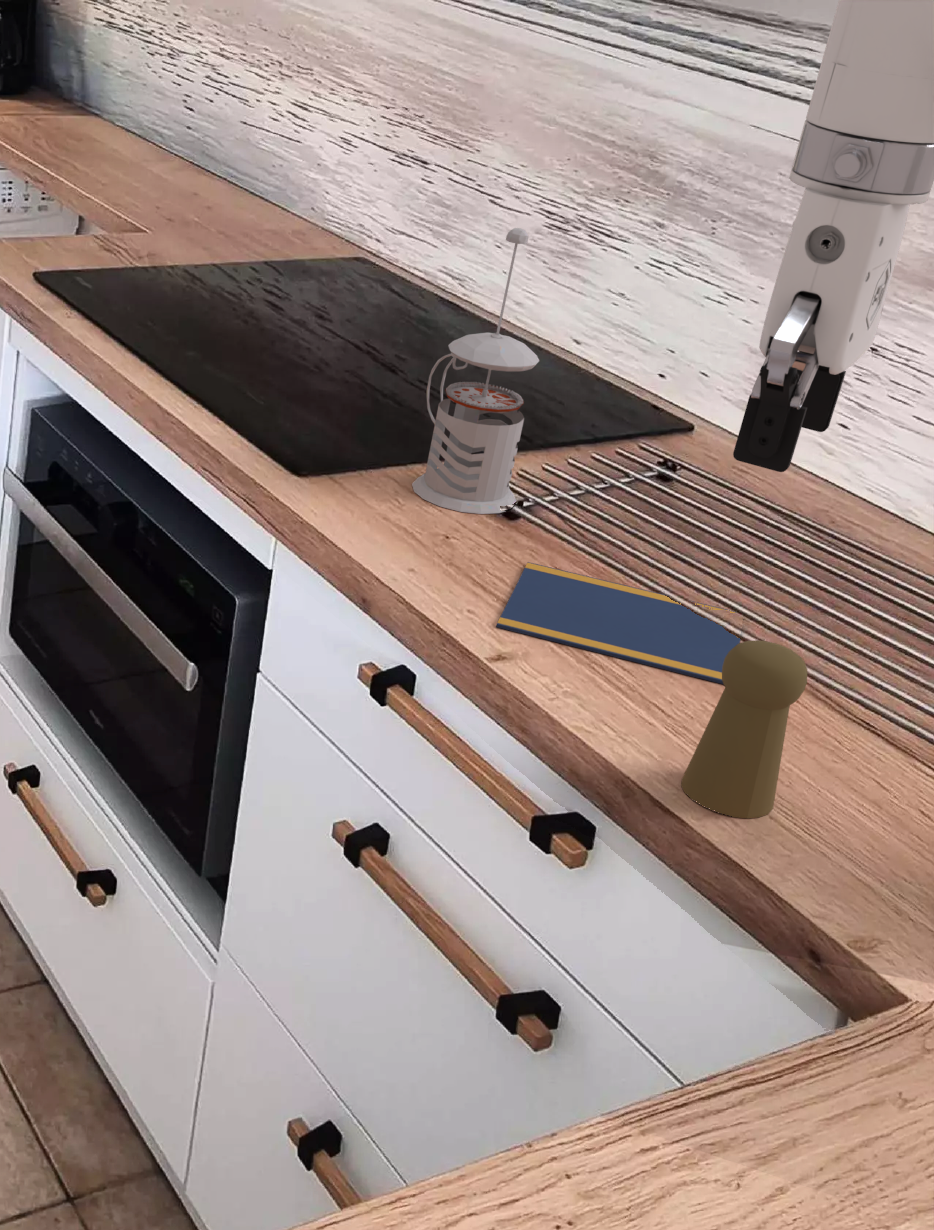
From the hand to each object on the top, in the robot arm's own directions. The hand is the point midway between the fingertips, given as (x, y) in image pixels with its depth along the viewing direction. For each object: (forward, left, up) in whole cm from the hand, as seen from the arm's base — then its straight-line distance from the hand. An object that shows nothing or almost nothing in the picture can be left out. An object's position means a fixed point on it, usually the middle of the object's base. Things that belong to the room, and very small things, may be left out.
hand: (780, 444), depth 106 cm
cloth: (+7, -24, -24) cm, 35 cm away
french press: (+25, -45, -25) cm, 57 cm away
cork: (-3, 0, -25) cm, 25 cm away
